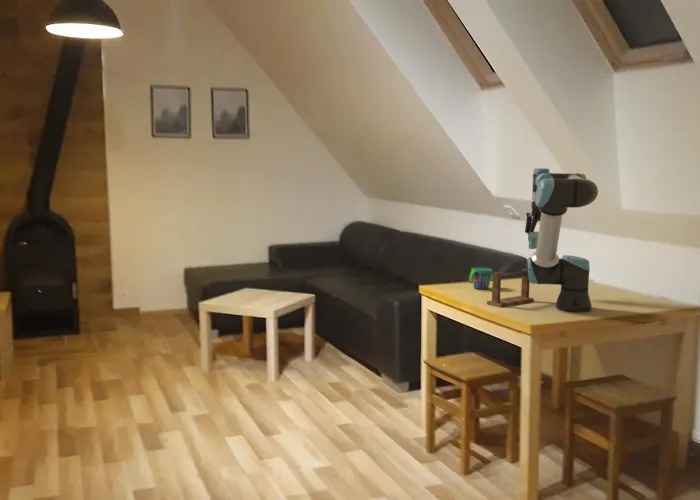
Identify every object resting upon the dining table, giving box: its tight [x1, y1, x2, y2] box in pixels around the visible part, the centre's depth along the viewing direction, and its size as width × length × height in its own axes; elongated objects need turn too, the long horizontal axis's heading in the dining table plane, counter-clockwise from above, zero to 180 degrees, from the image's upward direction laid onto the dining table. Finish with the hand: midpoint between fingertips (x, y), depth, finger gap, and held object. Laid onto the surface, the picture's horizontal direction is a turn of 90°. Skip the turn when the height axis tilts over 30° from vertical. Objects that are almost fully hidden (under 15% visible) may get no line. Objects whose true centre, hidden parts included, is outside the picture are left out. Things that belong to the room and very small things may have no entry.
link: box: [528, 231, 539, 250], centre depth 347 cm, size 5×7×8 cm
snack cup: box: [468, 267, 494, 290], centre depth 369 cm, size 16×10×10 cm
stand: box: [486, 268, 535, 308], centre depth 333 cm, size 23×8×15 cm, turn 127°
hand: (537, 248), depth 348 cm, fingers closed on link, 7 cm apart
